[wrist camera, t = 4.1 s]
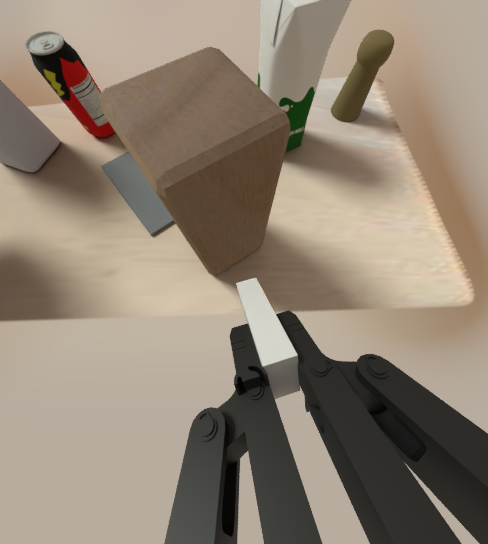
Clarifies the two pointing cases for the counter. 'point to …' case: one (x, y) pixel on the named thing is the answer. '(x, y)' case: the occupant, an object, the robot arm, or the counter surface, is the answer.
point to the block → (204, 149)
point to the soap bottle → (23, 135)
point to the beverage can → (69, 80)
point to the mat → (138, 193)
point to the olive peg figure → (362, 75)
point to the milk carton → (296, 54)
